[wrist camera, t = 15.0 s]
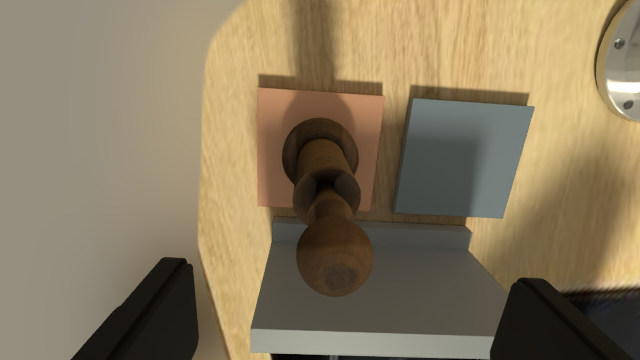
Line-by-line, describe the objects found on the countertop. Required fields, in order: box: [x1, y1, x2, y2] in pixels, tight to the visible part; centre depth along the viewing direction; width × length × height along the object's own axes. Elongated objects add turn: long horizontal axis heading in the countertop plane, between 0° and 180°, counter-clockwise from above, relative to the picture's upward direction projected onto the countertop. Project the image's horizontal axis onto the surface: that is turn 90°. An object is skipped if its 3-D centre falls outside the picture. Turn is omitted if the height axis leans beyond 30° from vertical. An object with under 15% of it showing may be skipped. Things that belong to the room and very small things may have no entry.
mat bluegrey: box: [392, 98, 535, 219], centre depth 29 cm, size 11×11×1 cm
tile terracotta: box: [258, 87, 385, 212], centre depth 28 cm, size 11×11×1 cm
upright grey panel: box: [251, 216, 509, 359], centre depth 26 cm, size 20×6×12 cm, turn 86°
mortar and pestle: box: [282, 118, 373, 297], centre depth 19 cm, size 7×6×18 cm
